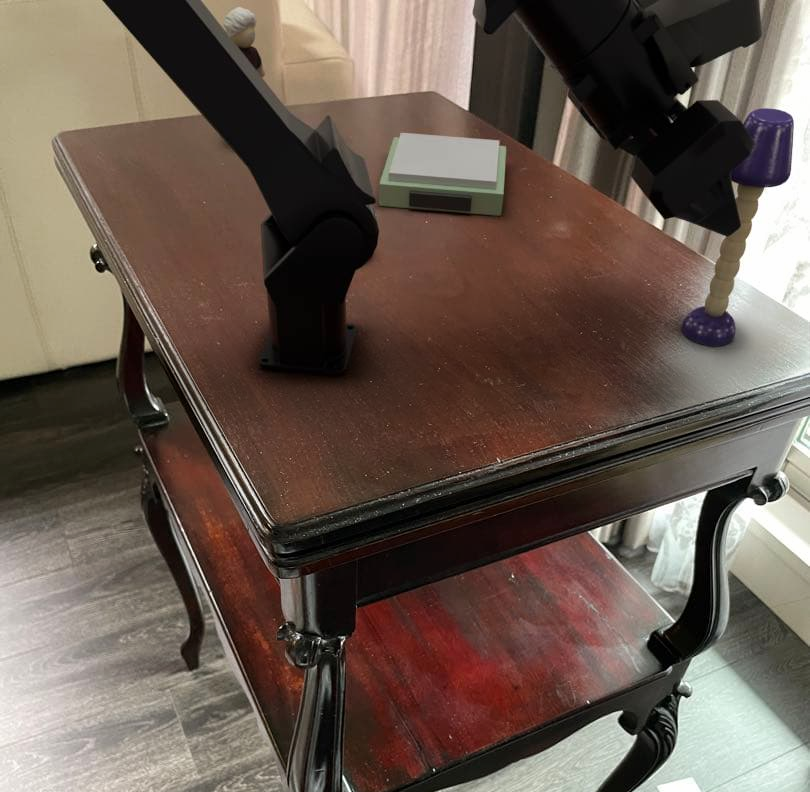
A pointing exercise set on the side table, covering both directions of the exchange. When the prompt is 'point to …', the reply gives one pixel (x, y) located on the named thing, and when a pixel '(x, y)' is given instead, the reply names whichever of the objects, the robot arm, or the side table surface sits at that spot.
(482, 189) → the scale
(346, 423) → the side table surface
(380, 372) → the side table surface
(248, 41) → the grandmother figurine
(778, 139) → the toy lamp
